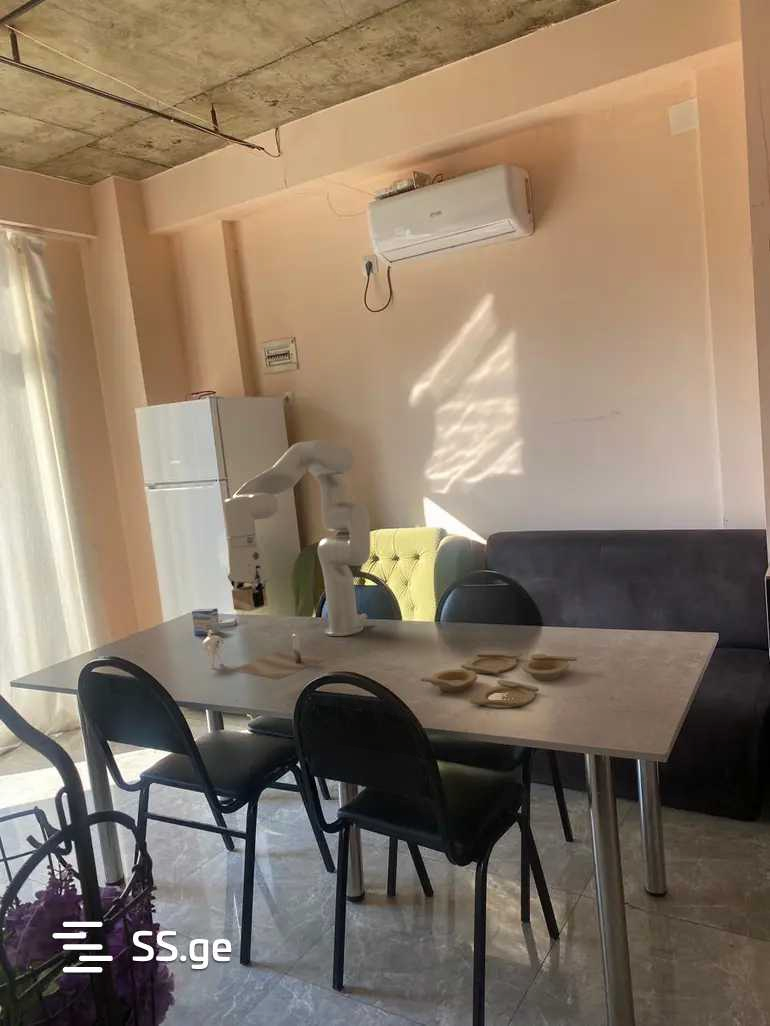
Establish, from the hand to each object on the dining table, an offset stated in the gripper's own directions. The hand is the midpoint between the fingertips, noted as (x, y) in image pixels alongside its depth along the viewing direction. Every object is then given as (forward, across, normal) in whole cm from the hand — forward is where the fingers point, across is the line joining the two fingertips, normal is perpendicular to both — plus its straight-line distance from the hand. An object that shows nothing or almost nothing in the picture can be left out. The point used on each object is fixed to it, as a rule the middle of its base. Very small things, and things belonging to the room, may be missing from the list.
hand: (250, 604), depth 210 cm
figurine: (+20, +14, +4) cm, 25 cm away
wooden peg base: (+20, -4, -4) cm, 20 cm away
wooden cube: (+1, 0, 0) cm, 1 cm away
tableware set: (+20, -66, -20) cm, 72 cm away
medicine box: (+20, +54, -23) cm, 62 cm away
